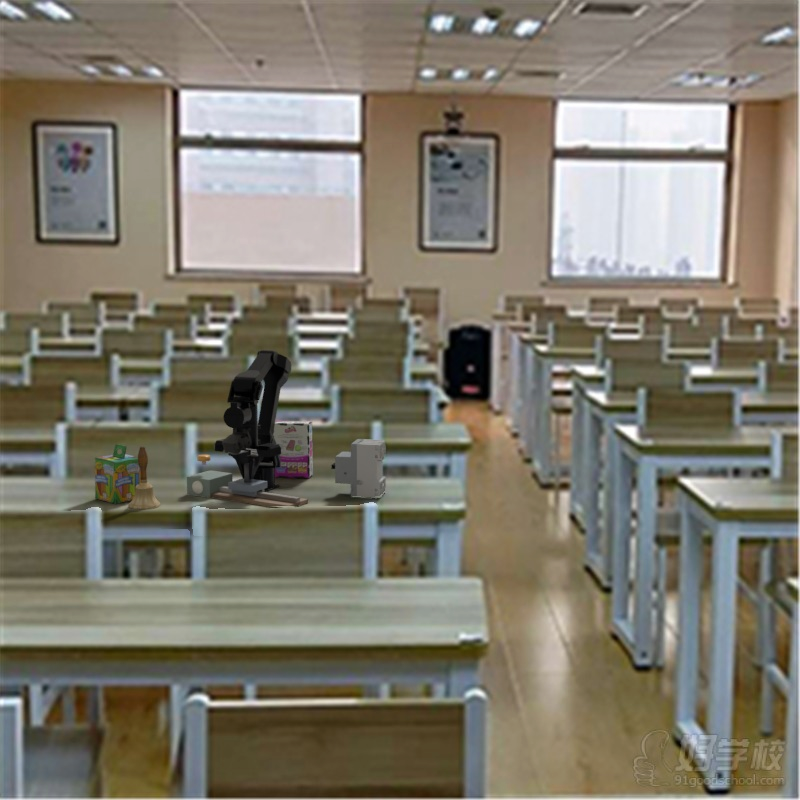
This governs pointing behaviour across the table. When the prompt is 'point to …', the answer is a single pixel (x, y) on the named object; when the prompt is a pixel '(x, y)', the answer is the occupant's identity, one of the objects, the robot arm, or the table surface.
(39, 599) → the table surface
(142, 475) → the hand bell
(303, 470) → the candy bar box
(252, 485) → the grey peg on base
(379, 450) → the circuit breaker
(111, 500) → the chalk box
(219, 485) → the grey green box
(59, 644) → the table surface
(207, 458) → the tan round piece
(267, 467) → the robot arm
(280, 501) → the rail track
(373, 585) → the table surface
